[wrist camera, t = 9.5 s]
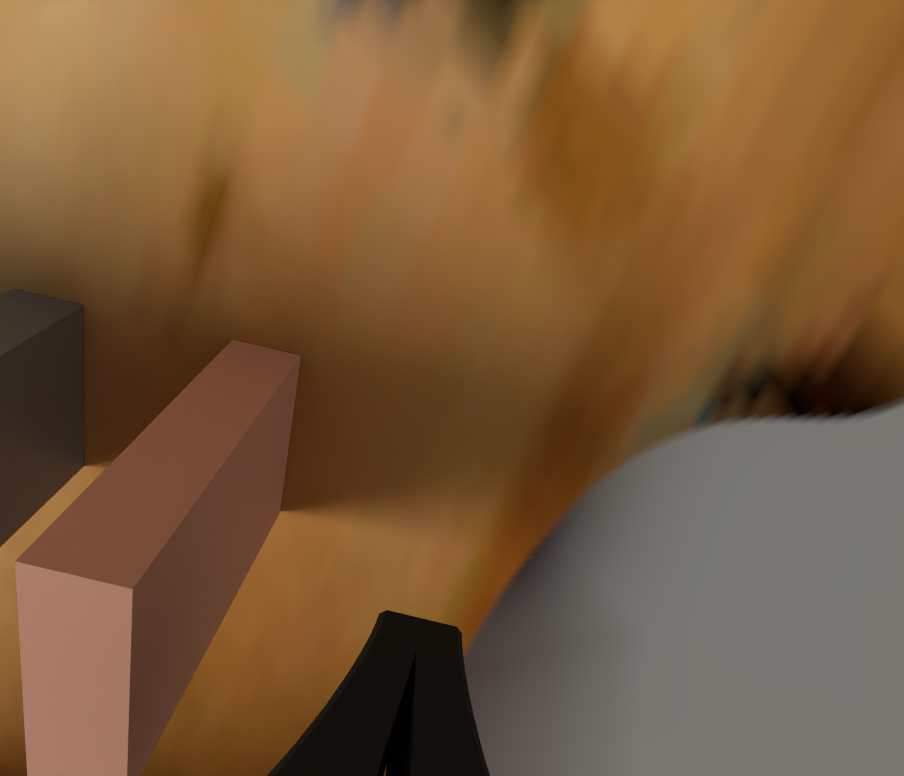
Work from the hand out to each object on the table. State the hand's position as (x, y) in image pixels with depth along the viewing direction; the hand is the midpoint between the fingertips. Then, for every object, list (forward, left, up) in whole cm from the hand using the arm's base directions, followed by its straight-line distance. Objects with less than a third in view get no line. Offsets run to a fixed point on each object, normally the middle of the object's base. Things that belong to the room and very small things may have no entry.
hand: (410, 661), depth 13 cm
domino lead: (0, +5, -6) cm, 8 cm away
